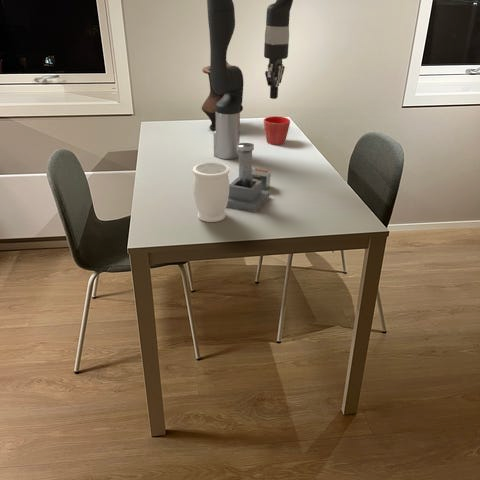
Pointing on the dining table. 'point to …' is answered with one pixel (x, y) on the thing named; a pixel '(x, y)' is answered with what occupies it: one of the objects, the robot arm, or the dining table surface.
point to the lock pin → (259, 170)
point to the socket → (247, 196)
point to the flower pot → (276, 129)
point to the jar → (211, 190)
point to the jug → (212, 101)
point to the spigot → (245, 164)
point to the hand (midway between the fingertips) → (273, 98)
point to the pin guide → (262, 178)
